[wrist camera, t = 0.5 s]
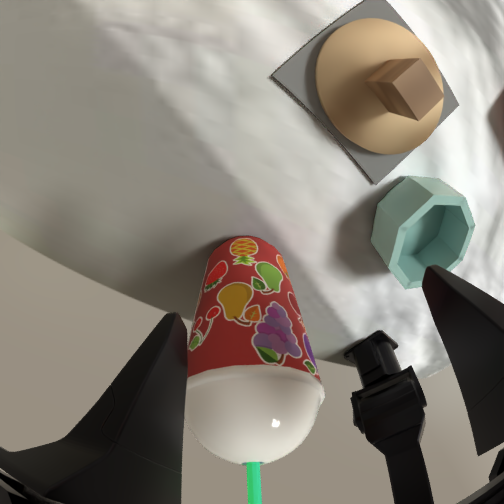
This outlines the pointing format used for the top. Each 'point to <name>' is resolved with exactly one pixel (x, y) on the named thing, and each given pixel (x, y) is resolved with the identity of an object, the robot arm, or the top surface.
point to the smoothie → (250, 361)
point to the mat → (304, 89)
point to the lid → (379, 86)
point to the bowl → (421, 228)
